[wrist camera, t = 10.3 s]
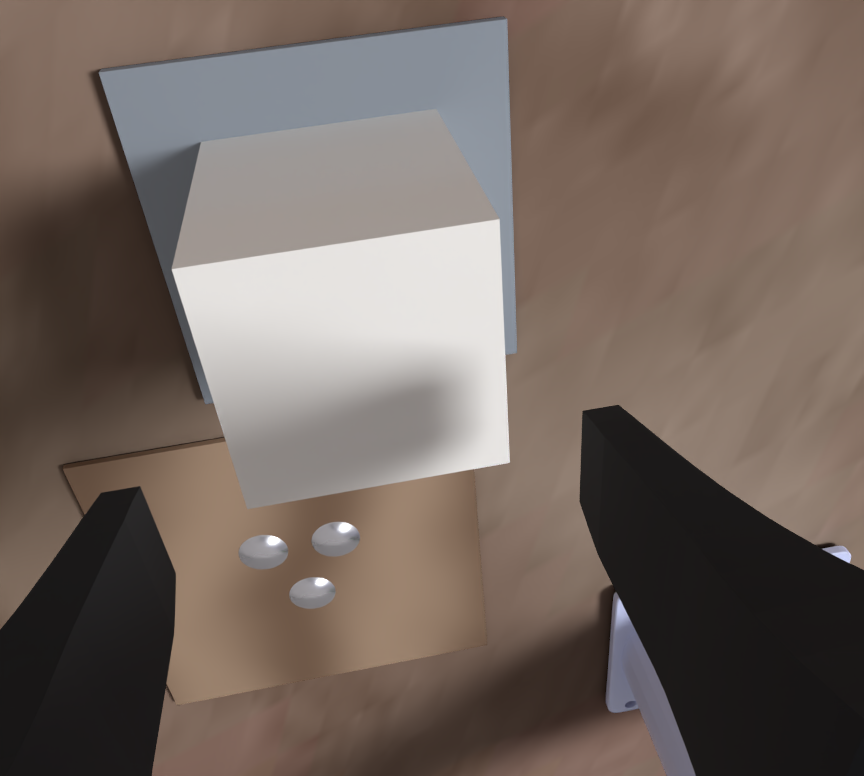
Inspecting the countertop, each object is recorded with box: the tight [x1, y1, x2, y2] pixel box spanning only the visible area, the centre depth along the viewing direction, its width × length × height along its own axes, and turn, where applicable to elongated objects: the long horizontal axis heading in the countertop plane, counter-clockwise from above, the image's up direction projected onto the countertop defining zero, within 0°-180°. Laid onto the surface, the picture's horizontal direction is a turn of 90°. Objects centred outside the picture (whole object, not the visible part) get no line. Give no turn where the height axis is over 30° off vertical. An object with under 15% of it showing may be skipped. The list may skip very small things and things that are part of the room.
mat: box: [99, 17, 517, 404], centre depth 20 cm, size 9×9×1 cm
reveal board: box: [63, 438, 487, 705], centre depth 27 cm, size 12×12×1 cm
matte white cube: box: [172, 109, 510, 509], centre depth 17 cm, size 6×6×6 cm
